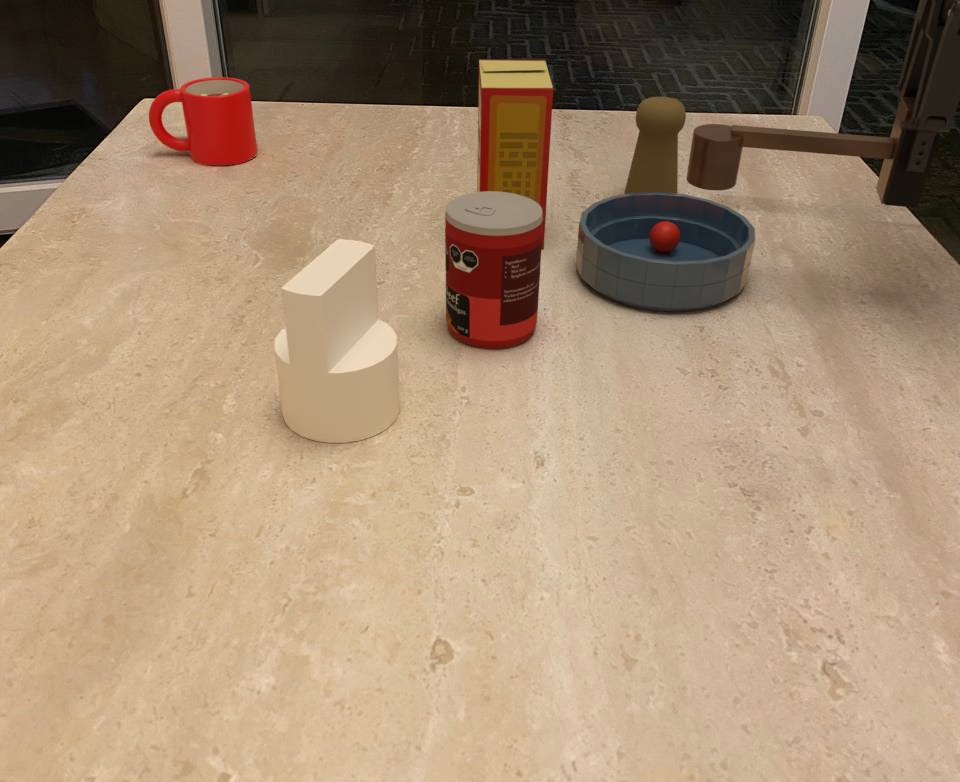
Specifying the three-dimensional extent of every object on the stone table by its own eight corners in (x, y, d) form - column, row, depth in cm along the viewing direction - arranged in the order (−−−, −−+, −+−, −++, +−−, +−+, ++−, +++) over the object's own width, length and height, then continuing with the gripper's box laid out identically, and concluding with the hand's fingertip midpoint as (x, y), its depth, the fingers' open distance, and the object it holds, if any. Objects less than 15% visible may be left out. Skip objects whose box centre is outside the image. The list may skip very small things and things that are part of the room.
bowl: (744, 247, 102) (753, 200, 99) (746, 323, 89) (757, 272, 86) (585, 232, 104) (589, 185, 101) (566, 304, 91) (570, 253, 88)
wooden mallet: (910, 189, 89) (937, 97, 84) (918, 208, 86) (946, 114, 81) (686, 170, 92) (700, 80, 87) (685, 188, 88) (699, 95, 83)
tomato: (678, 246, 100) (682, 217, 98) (677, 259, 98) (681, 230, 96) (648, 243, 101) (652, 215, 99) (646, 256, 98) (650, 227, 97)
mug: (159, 145, 122) (146, 78, 117) (258, 141, 124) (250, 75, 119) (151, 168, 116) (138, 99, 111) (256, 164, 117) (247, 96, 113)
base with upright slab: (369, 453, 73) (360, 305, 65) (260, 427, 75) (239, 282, 68) (417, 391, 79) (414, 251, 72) (316, 369, 82) (303, 231, 74)
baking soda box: (543, 249, 101) (553, 85, 91) (478, 248, 100) (481, 84, 91) (537, 211, 108) (545, 56, 98) (476, 211, 108) (479, 55, 98)
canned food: (448, 306, 91) (447, 188, 84) (536, 308, 91) (542, 191, 84) (443, 349, 85) (442, 226, 78) (537, 352, 85) (544, 229, 78)
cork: (662, 188, 114) (675, 88, 107) (687, 208, 109) (702, 106, 103) (613, 193, 112) (624, 93, 106) (637, 214, 108) (649, 111, 101)
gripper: (914, -131, 80) (843, 158, 94) (953, -100, 67) (863, 229, 81) (1013, -127, 79) (926, 165, 93) (1072, -94, 66) (960, 238, 80)
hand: (897, 194), depth 87 cm, fingers closed on wooden mallet, 4 cm apart
